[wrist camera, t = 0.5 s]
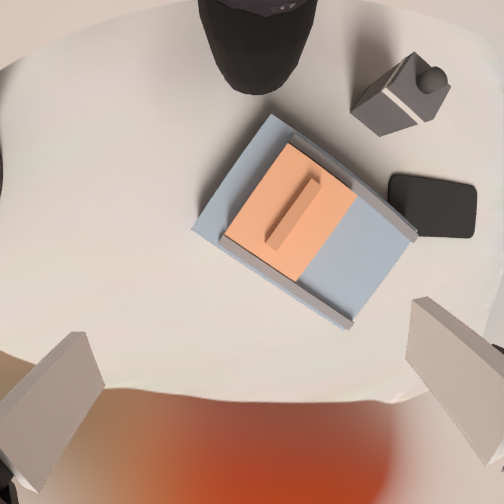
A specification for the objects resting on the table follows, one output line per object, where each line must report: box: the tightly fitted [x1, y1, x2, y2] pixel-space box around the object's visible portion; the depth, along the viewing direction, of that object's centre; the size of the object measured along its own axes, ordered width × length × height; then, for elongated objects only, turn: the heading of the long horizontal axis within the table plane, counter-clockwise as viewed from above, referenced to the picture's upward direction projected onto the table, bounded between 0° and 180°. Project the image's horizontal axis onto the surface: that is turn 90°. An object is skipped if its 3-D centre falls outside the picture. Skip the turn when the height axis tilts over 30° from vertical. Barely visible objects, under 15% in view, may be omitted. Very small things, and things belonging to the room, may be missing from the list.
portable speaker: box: [198, 0, 318, 95], centre depth 20 cm, size 9×9×20 cm
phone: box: [388, 175, 477, 238], centre depth 33 cm, size 7×1×15 cm
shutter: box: [224, 143, 358, 282], centre depth 28 cm, size 8×10×4 cm
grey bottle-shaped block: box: [350, 52, 451, 137], centre depth 24 cm, size 5×5×14 cm
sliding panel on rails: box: [191, 114, 419, 330], centre depth 31 cm, size 20×14×5 cm
